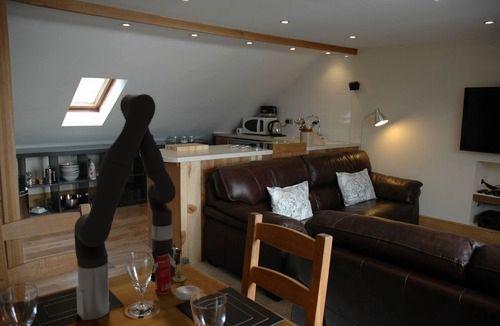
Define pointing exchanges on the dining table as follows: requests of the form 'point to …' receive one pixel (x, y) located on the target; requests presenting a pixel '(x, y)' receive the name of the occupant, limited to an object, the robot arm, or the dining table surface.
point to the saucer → (185, 292)
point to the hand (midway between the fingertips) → (162, 278)
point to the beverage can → (162, 274)
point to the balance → (184, 263)
